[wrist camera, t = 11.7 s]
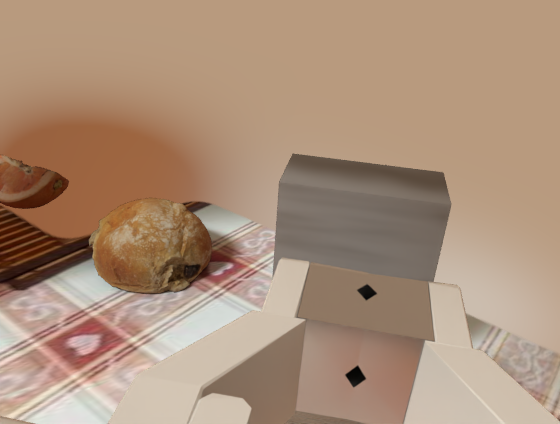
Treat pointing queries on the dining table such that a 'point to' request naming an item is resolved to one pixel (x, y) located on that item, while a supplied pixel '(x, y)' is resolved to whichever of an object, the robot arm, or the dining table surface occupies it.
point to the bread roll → (150, 246)
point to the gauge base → (362, 216)
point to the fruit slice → (28, 184)
